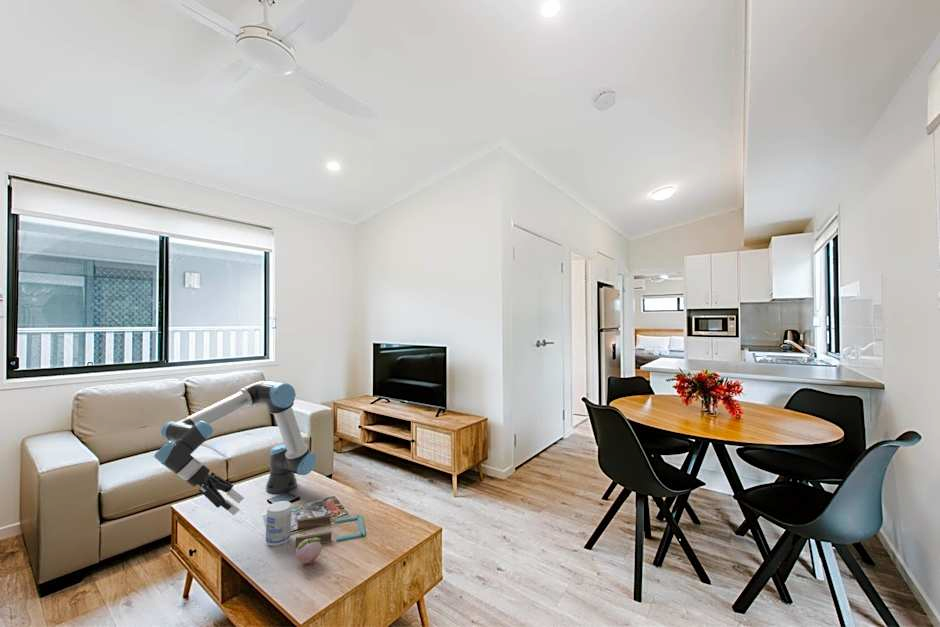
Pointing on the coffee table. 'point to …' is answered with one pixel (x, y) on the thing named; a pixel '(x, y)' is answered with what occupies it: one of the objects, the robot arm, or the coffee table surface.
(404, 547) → the coffee table surface
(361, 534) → the frame
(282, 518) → the supplement tub
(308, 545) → the decorative fruit
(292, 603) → the coffee table surface
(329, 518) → the channel walls
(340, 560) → the coffee table surface
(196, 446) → the robot arm
